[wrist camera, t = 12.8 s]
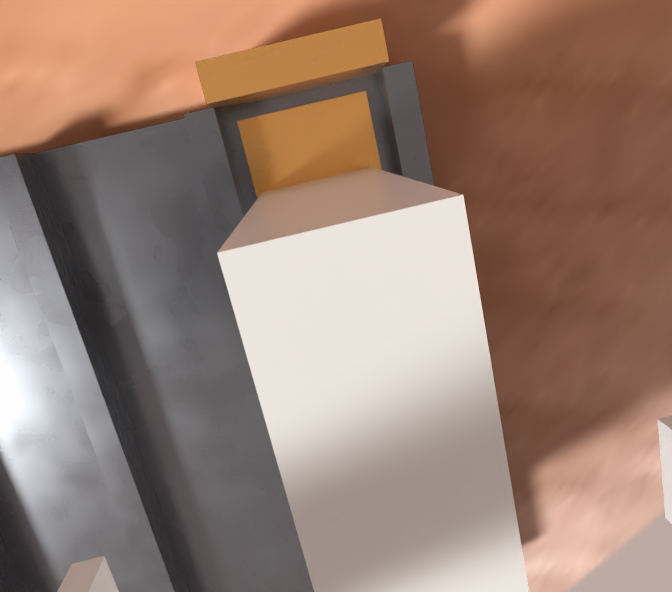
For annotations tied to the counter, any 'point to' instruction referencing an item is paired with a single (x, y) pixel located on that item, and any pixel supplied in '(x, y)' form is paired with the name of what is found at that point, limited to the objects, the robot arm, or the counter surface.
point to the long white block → (377, 383)
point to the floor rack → (169, 321)
